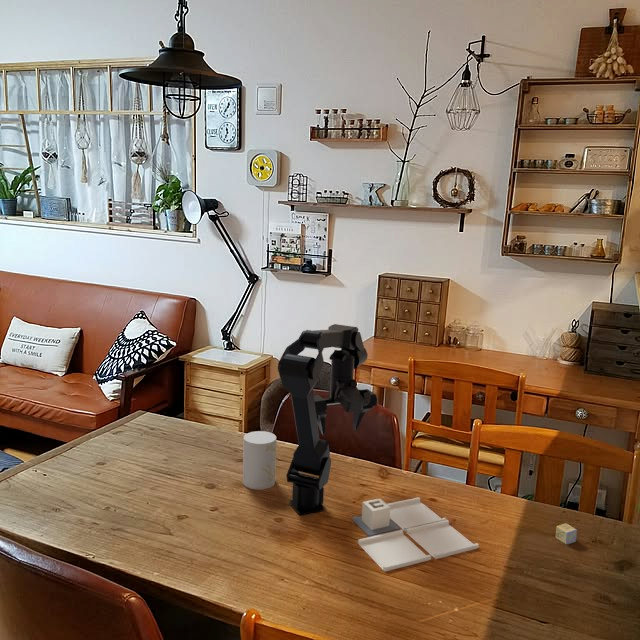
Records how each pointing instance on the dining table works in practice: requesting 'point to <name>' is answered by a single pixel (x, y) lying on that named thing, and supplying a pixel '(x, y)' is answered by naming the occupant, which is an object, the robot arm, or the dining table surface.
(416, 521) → the tray
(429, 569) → the dining table surface
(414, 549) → the tray
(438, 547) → the tray
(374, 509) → the letter cube
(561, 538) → the alphabet block
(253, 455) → the white cylinder
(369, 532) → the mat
